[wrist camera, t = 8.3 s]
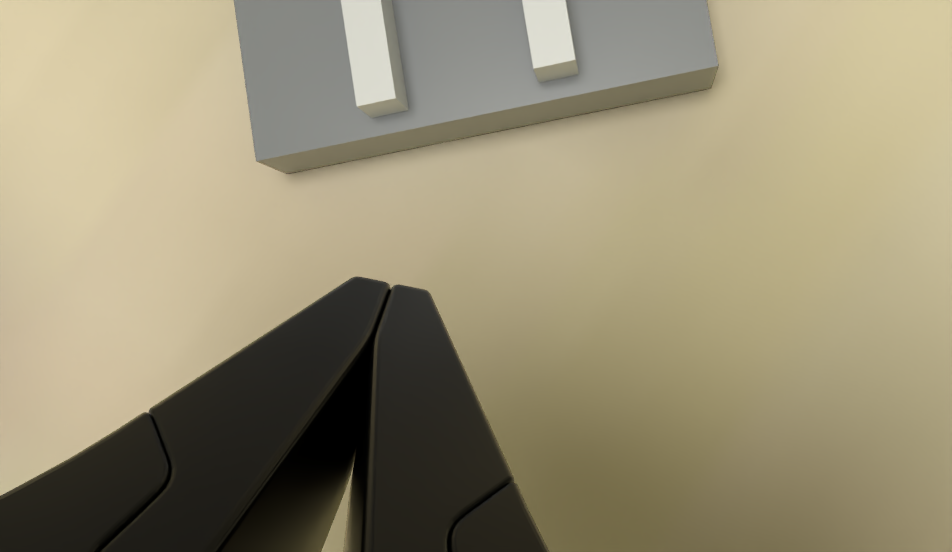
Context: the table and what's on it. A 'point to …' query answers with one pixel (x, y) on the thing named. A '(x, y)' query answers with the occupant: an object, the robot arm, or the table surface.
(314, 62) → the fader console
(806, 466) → the table surface
